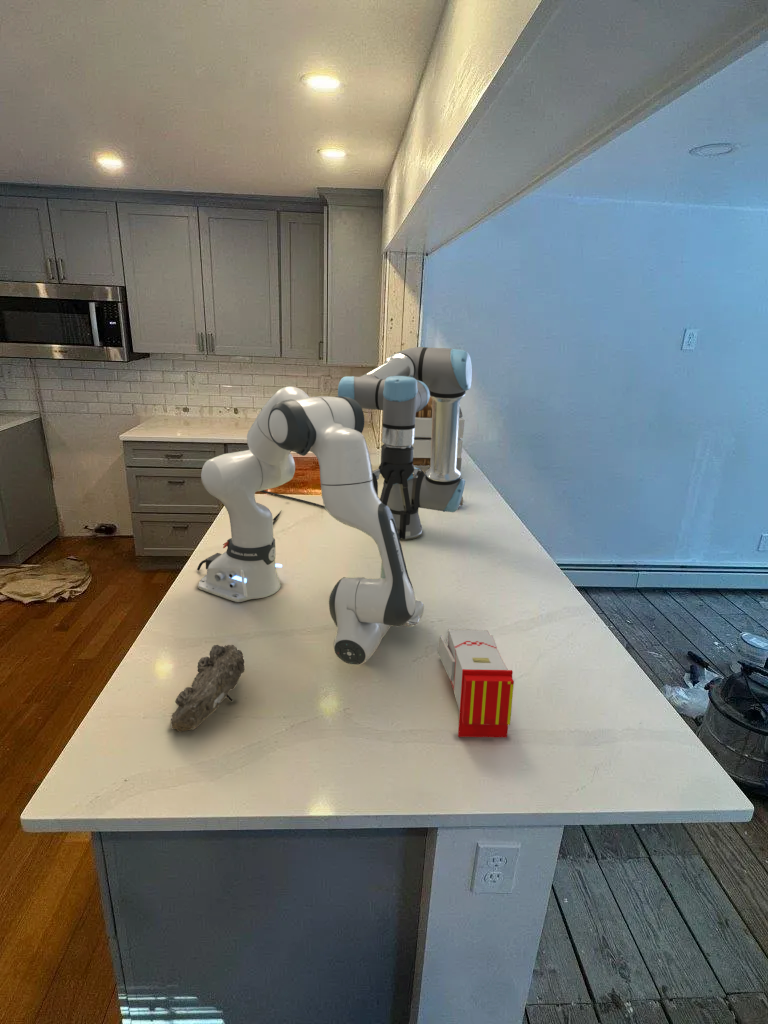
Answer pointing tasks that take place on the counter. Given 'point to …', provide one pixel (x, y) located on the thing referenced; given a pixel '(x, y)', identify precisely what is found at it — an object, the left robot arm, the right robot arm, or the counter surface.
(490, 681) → the toy
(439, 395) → the right robot arm
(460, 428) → the transformer
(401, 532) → the cap
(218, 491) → the left robot arm
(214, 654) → the fossil
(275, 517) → the feather
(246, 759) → the counter surface
